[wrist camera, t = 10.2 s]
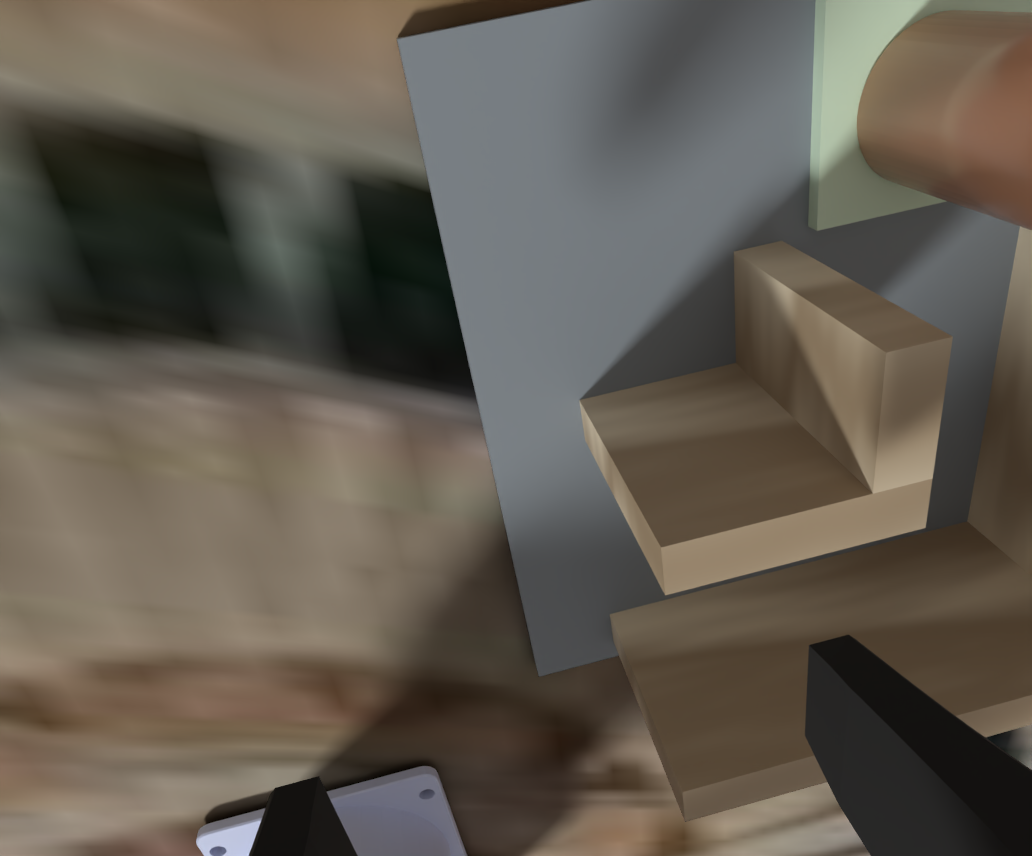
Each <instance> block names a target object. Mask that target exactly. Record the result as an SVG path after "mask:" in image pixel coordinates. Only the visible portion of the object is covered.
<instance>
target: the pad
mask: <svg viewBox="0 0 1032 856" xmlns="http://www.w3.org/2000/svg"><path fill="white" fill-rule="evenodd" d="M949 10H973V11H1004V12H1032V0H816V2H815V33H814V63H813V94H812V124H811V155H810V185H809V216H808V227H810V228H812V229H814V230H816V231H819V230H823V229H828V228H832V227H836V226H841V225H845V224H850V223H854V222H858V221H863V220H867V219H872V218H876V217H880V216H885V215H889V214H894V213H898V212H902V211H907V210H911V209H916V208H920V207H924V206H929V205H933V204H938V203H942V202H946V201H945V200H942V199H940V198H937V197H934V196H931V195H928V194H925V193H922V192H919V191H916V190H913V189H911V188H908V187H905V186H902V185H899V184H896V183H893V182H891V181H888V180H886V179H884V178H882V177H880V176H879V175H878V174H876V173H875V172H874V171H873V170H872V169H871V168H870V166H869V165H868V164H867V162H866V160H865V159H864V157H863V154H862V152H861V149H860V146H859V141H858V136H857V114H858V107H859V102H860V98H861V95H862V91H863V89H864V86H865V83H866V81H867V79H868V77H869V74H870V72H871V70H872V69H873V67H874V65H875V64H876V62H877V60H878V59H879V57H880V56H881V55H882V53H883V52H884V51H885V49H886V48H887V47H888V46H889V45H890V44H891V42H892V41H893V40H894V39H895V38H896V37H897V36H899V35H900V34H901V33H902V32H903V31H904V30H905V29H907V28H908V27H910V26H911V25H912V24H914V23H915V22H917V21H919V20H921V19H922V18H925V17H927V16H929V15H932V14H934V13H938V12H942V11H949Z"/></svg>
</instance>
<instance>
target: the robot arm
mask: <svg viewBox="0 0 1032 856" xmlns="http://www.w3.org/2000/svg"><path fill="white" fill-rule="evenodd" d="M805 737H806V739H807V741H808V743H809V745H810V747H811V749H812V751H813V753H814V756H815V758H816V760H817V762H818V764H819V766H820V768H821V770H822V772H823V774H824V776H825V778H826V780H827V782H828V784H829V786H830V788H831V790H832V792H833V794H834V796H835V798H836V800H837V802H838V803H839V805H840V807H841V809H842V810H843V812H844V813H845V815H846V817H847V818H848V820H849V821H850V823H851V825H852V826H853V828H854V829H855V831H856V833H857V834H858V836H859V837H860V839H861V840H862V842H863V844H864V845H865V847H866V848H867V850H868V852H869V853H870V855H871V856H1032V770H1031V769H1029V768H1028V767H1026V766H1025V765H1023V764H1022V763H1020V762H1019V761H1017V760H1016V759H1015V758H1013V757H1012V756H1010V755H1009V754H1008V753H1006V752H1005V751H1003V750H1002V749H1001V748H999V747H998V746H996V745H995V744H994V743H992V742H991V741H989V740H988V739H987V738H985V737H984V736H983V735H981V734H980V733H978V732H977V731H976V730H974V729H973V728H971V727H970V726H969V725H967V724H966V723H964V722H963V721H962V720H960V719H959V718H958V717H956V716H955V715H954V714H952V713H951V712H950V711H948V710H947V709H946V708H944V707H943V706H942V705H940V704H939V703H938V702H936V701H935V700H934V699H932V698H931V697H930V696H928V695H927V694H926V693H924V692H923V691H922V690H920V689H919V688H918V687H917V686H915V685H914V684H913V683H911V682H910V681H909V680H907V679H906V678H905V677H904V676H902V675H901V674H900V673H898V672H897V671H896V670H895V669H893V668H892V667H891V666H889V665H888V664H887V663H886V662H884V661H883V660H882V659H881V658H879V657H878V656H877V655H875V654H874V653H873V652H872V651H870V650H869V649H868V648H866V647H865V646H864V645H863V644H861V643H860V642H859V641H858V640H856V639H855V638H853V637H852V636H850V635H845V636H841V637H837V638H833V639H830V640H826V641H822V642H818V643H815V644H811V645H809V654H808V676H807V697H806V718H805ZM196 843H197V846H198V847H199V849H200V850H201V852H202V853H203V855H204V856H467V854H466V851H465V848H464V845H463V842H462V840H461V837H460V834H459V831H458V828H457V826H456V823H455V820H454V817H453V814H452V812H451V809H450V806H449V803H448V800H447V798H446V795H445V792H444V789H443V786H442V783H441V781H440V778H439V775H438V772H437V771H436V770H435V769H434V768H432V767H430V766H420V767H416V768H412V769H409V770H405V771H401V772H398V773H394V774H390V775H386V776H383V777H379V778H375V779H372V780H368V781H364V782H360V783H357V784H353V785H349V786H346V787H342V788H338V789H334V790H331V791H327V792H326V790H325V788H324V786H323V784H322V782H321V780H320V778H319V776H318V777H315V778H311V779H307V780H303V781H300V782H296V783H292V784H288V785H285V786H281V787H277V788H275V789H274V791H273V792H272V793H271V794H270V797H269V799H268V802H267V805H266V808H264V809H260V810H257V811H253V812H249V813H245V814H242V815H238V816H234V817H231V818H227V819H223V820H219V821H216V822H212V823H209V824H206V825H204V826H202V827H201V828H200V829H199V831H198V835H197V840H196Z"/></svg>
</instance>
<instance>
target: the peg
mask: <svg viewBox="0 0 1032 856" xmlns="http://www.w3.org/2000/svg"><path fill="white" fill-rule="evenodd" d="M857 136H858V141H859V146H860V149H861V152H862V154H863V157H864V159H865V160H866V162H867V164H868V165H869V166H870V168H871V169H872V170H873V171H874V172H875V173H876V174H878V175H879V176H880V177H882V178H884V179H886V180H888V181H891V182H893V183H896V184H899V185H902V186H905V187H908V188H911V189H913V190H916V191H919V192H922V193H925V194H928V195H931V196H934V197H937V198H940V199H942V200H945V201H948V202H951V203H954V204H957V205H960V206H963V207H966V208H968V209H971V210H974V211H977V212H980V213H983V214H986V215H989V216H992V217H994V218H997V219H1000V220H1003V221H1006V222H1009V223H1012V224H1015V225H1018V226H1020V227H1023V228H1026V229H1029V230H1032V12H1004V11H973V10H949V11H942V12H938V13H934V14H932V15H929V16H927V17H925V18H922V19H921V20H919V21H917V22H915V23H914V24H912V25H911V26H910V27H908V28H907V29H905V30H904V31H903V32H902V33H901V34H900V35H899V36H897V37H896V38H895V39H894V40H893V41H892V42H891V44H890V45H889V46H888V47H887V48H886V49H885V51H884V52H883V53H882V55H881V56H880V57H879V59H878V60H877V62H876V64H875V65H874V67H873V69H872V70H871V72H870V74H869V77H868V79H867V81H866V83H865V86H864V89H863V91H862V95H861V98H860V102H859V107H858V114H857Z"/></svg>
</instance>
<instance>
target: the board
mask: <svg viewBox="0 0 1032 856" xmlns="http://www.w3.org/2000/svg"><path fill="white" fill-rule="evenodd" d="M815 2H816V0H585V1H580V2H575V3H570V4H565V5H560V6H555V7H550V8H545V9H540V10H535V11H530V12H525V13H520V14H515V15H510V16H505V17H500V18H495V19H490V20H485V21H480V22H475V23H470V24H465V25H460V26H455V27H450V28H445V29H440V30H435V31H430V32H425V33H419V34H414V35H409V36H404V37H399V38H397V42H398V47H399V51H400V56H401V60H402V65H403V69H404V74H405V78H406V83H407V87H408V92H409V96H410V101H411V105H412V110H413V115H414V119H415V124H416V128H417V133H418V137H419V142H420V146H421V151H422V155H423V160H424V164H425V169H426V173H427V178H428V182H429V187H430V191H431V196H432V200H433V205H434V209H435V214H436V218H437V223H438V227H439V232H440V236H441V241H442V245H443V250H444V254H445V259H446V263H447V268H448V272H449V277H450V281H451V286H452V290H453V295H454V299H455V304H456V308H457V313H458V317H459V322H460V326H461V331H462V335H463V340H464V344H465V349H466V353H467V358H468V362H469V367H470V371H471V376H472V380H473V385H474V389H475V394H476V398H477V403H478V407H479V412H480V416H481V421H482V425H483V430H484V434H485V439H486V443H487V448H488V452H489V457H490V461H491V466H492V470H493V475H494V479H495V484H496V488H497V493H498V497H499V502H500V506H501V511H502V515H503V520H504V524H505V529H506V533H507V538H508V542H509V547H510V552H511V556H512V561H513V565H514V570H515V574H516V579H517V583H518V588H519V592H520V597H521V601H522V606H523V610H524V615H525V619H526V624H527V628H528V633H529V637H530V642H531V646H532V651H533V655H534V660H535V664H536V668H537V672H538V676H539V677H540V676H544V675H547V674H551V673H555V672H559V671H563V670H566V669H570V668H574V667H578V666H582V665H585V664H589V663H593V662H597V661H601V660H604V659H608V658H612V657H616V656H619V654H618V652H617V649H616V647H615V644H614V641H613V634H612V627H611V620H610V614H613V613H617V612H620V611H624V610H628V609H632V608H636V607H640V606H643V605H647V604H651V603H655V602H659V601H663V600H667V599H670V598H674V597H678V596H682V595H686V594H690V593H694V592H697V591H701V590H705V589H709V588H713V587H717V586H720V585H724V584H728V583H732V582H736V581H740V580H744V579H747V578H751V577H755V576H759V575H763V574H767V573H771V572H774V571H778V570H782V569H786V568H790V567H794V566H798V565H801V564H805V563H809V562H813V561H817V560H821V559H824V558H828V557H832V556H836V555H840V554H844V553H848V552H851V551H855V550H859V549H863V548H867V547H871V546H875V545H878V544H882V543H886V542H890V541H894V540H898V539H901V538H905V537H909V536H913V535H917V534H921V533H925V532H928V531H932V530H936V529H940V528H944V527H948V526H952V525H955V524H959V523H963V522H967V520H968V515H969V509H970V504H971V498H972V492H973V487H974V481H975V476H976V470H977V464H978V459H979V453H980V448H981V442H982V436H983V431H984V425H985V420H986V414H987V408H988V403H989V397H990V392H991V386H992V380H993V375H994V369H995V364H996V358H997V352H998V347H999V341H1000V336H1001V330H1002V324H1003V319H1004V313H1005V308H1006V302H1007V297H1008V291H1009V285H1010V280H1011V274H1012V269H1013V263H1014V257H1015V252H1016V246H1017V241H1018V235H1019V229H1020V226H1018V225H1015V224H1012V223H1009V222H1006V221H1003V220H1000V219H997V218H994V217H992V216H989V215H986V214H983V213H980V212H977V211H974V210H971V209H968V208H966V207H963V206H960V205H957V204H954V203H951V202H948V201H946V202H942V203H938V204H933V205H929V206H924V207H920V208H916V209H911V210H907V211H902V212H898V213H894V214H889V215H885V216H880V217H876V218H872V219H867V220H863V221H858V222H854V223H850V224H845V225H841V226H836V227H832V228H828V229H823V230H819V231H816V230H814V229H812V228H810V227H808V216H809V185H810V155H811V124H812V94H813V63H814V33H815ZM778 241H783V242H785V243H787V244H789V245H791V246H792V247H794V248H796V249H798V250H799V251H801V252H803V253H805V254H807V255H808V256H810V257H812V258H814V259H815V260H817V261H819V262H821V263H823V264H824V265H826V266H828V267H830V268H831V269H833V270H835V271H837V272H839V273H840V274H842V275H844V276H846V277H847V278H849V279H851V280H853V281H855V282H856V283H858V284H860V285H862V286H864V287H865V288H867V289H869V290H871V291H872V292H874V293H876V294H878V295H880V296H881V297H883V298H885V299H887V300H888V301H890V302H892V303H894V304H896V305H897V306H899V307H901V308H903V309H904V310H906V311H908V312H910V313H912V314H913V315H915V316H917V317H919V318H920V319H922V320H924V321H926V322H928V323H929V324H931V325H933V326H935V327H936V328H938V329H940V330H942V331H944V332H945V333H947V334H949V335H951V336H952V337H953V339H952V346H951V353H950V360H949V367H948V374H947V381H946V388H945V395H944V402H943V409H942V416H941V423H940V430H939V437H938V444H937V451H936V458H935V465H934V472H933V479H932V486H931V493H930V500H929V507H928V514H927V521H926V528H924V529H920V530H916V531H912V532H908V533H904V534H900V535H897V536H893V537H889V538H885V539H881V540H877V541H873V542H870V543H866V544H862V545H858V546H854V547H850V548H846V549H843V550H839V551H835V552H831V553H827V554H823V555H819V556H816V557H812V558H808V559H804V560H800V561H796V562H792V563H789V564H785V565H781V566H777V567H773V568H769V569H765V570H762V571H758V572H754V573H750V574H746V575H742V576H738V577H735V578H731V579H727V580H723V581H719V582H715V583H711V584H708V585H704V586H700V587H696V588H692V589H688V590H684V591H681V592H677V593H673V594H669V595H665V594H664V592H663V590H662V588H661V586H660V584H659V582H658V580H657V579H656V577H655V575H654V573H653V571H652V569H651V567H650V565H649V563H648V561H647V559H646V557H645V555H644V553H643V551H642V549H641V548H640V546H639V544H638V542H637V540H636V538H635V536H634V534H633V532H632V530H631V528H630V526H629V524H628V522H627V520H626V518H625V517H624V515H623V513H622V511H621V509H620V507H619V505H618V503H617V501H616V499H615V497H614V495H613V493H612V491H611V489H610V487H609V486H608V484H607V482H606V480H605V478H604V476H603V474H602V472H601V470H600V468H599V466H598V464H597V462H596V460H595V458H594V456H593V455H592V453H591V451H590V449H589V447H588V445H587V443H586V441H585V436H584V429H583V422H582V415H581V408H580V401H579V400H582V399H586V398H590V397H595V396H599V395H603V394H607V393H611V392H616V391H620V390H624V389H628V388H632V387H637V386H641V385H645V384H649V383H653V382H658V381H662V380H666V379H670V378H674V377H679V376H683V375H687V374H691V373H695V372H700V371H704V370H708V369H712V368H716V367H721V366H725V365H729V364H733V363H736V340H735V286H734V251H739V250H743V249H748V248H752V247H756V246H761V245H765V244H770V243H774V242H778Z"/></svg>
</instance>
